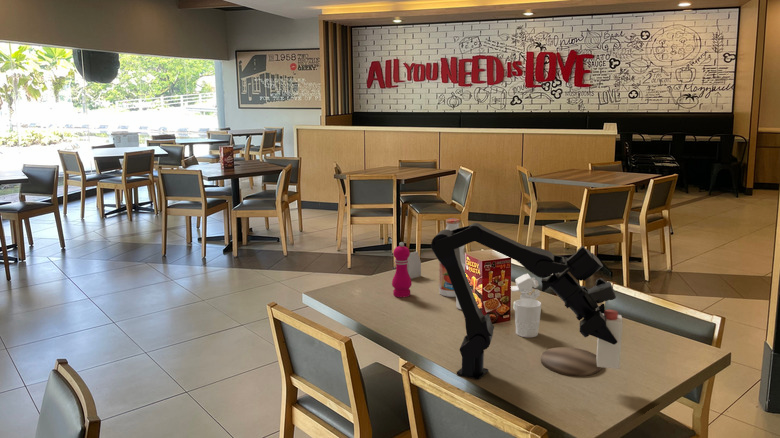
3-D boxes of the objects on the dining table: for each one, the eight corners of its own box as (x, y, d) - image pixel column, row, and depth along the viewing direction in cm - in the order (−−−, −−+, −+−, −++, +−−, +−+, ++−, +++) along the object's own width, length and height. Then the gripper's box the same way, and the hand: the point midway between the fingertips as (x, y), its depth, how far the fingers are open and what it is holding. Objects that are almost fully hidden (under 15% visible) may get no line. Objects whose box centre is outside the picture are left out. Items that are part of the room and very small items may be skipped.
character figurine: (540, 313, 209) (542, 279, 207) (512, 313, 209) (513, 279, 207) (535, 304, 218) (536, 271, 215) (508, 304, 218) (509, 271, 216)
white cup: (521, 327, 197) (522, 296, 195) (544, 332, 192) (545, 301, 190) (509, 334, 191) (510, 303, 189) (532, 340, 186) (533, 308, 184)
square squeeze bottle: (619, 369, 151) (623, 316, 149) (596, 366, 153) (600, 314, 150) (618, 360, 156) (621, 309, 154) (596, 358, 158) (599, 307, 155)
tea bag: (420, 275, 254) (420, 252, 252) (409, 279, 249) (409, 255, 247) (414, 274, 256) (414, 250, 254) (402, 277, 252) (402, 253, 250)
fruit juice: (457, 288, 237) (457, 216, 231) (469, 295, 228) (470, 220, 223) (434, 291, 233) (435, 218, 228) (446, 298, 225) (447, 222, 219)
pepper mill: (389, 296, 228) (389, 243, 224) (395, 291, 234) (394, 239, 230) (408, 298, 226) (408, 244, 222) (413, 292, 232) (413, 240, 228)
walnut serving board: (592, 381, 160) (592, 376, 159) (532, 366, 168) (532, 362, 168) (608, 359, 173) (608, 354, 172) (552, 346, 181) (552, 343, 181)
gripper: (597, 282, 142) (645, 333, 141) (595, 261, 160) (638, 306, 159) (560, 312, 146) (607, 361, 145) (561, 288, 163) (603, 332, 163)
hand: (615, 339), depth 153 cm, fingers closed on square squeeze bottle, 5 cm apart
